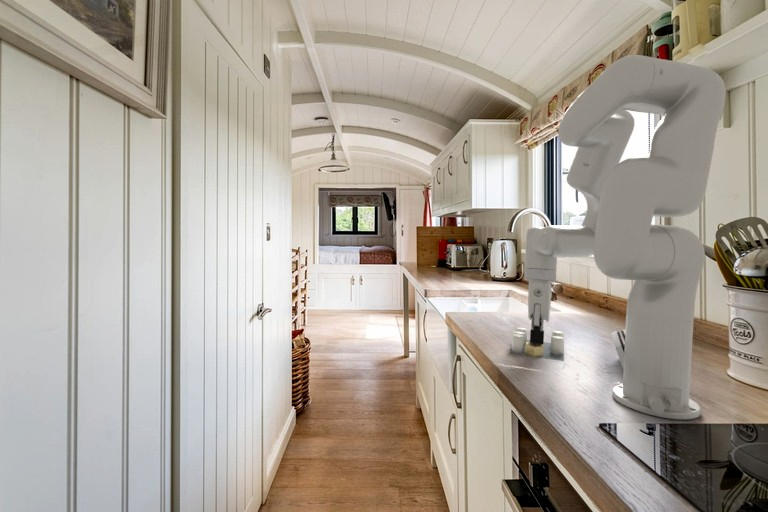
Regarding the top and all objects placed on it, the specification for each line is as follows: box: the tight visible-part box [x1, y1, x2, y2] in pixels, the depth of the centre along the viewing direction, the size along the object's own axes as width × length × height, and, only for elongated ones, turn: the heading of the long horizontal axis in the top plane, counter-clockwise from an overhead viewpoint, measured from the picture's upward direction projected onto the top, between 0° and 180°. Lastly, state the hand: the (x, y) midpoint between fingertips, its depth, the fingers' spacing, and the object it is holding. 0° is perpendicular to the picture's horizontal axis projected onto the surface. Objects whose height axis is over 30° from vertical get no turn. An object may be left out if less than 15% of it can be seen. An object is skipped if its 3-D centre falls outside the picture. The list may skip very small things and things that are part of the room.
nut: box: [525, 342, 543, 357], centre depth 93 cm, size 5×4×2 cm
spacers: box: [511, 327, 565, 355], centre depth 98 cm, size 13×12×4 cm
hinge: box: [611, 329, 626, 371], centre depth 84 cm, size 17×5×10 cm, turn 151°
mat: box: [509, 339, 565, 362], centre depth 99 cm, size 16×12×1 cm
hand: (536, 345), depth 97 cm, fingers closed
